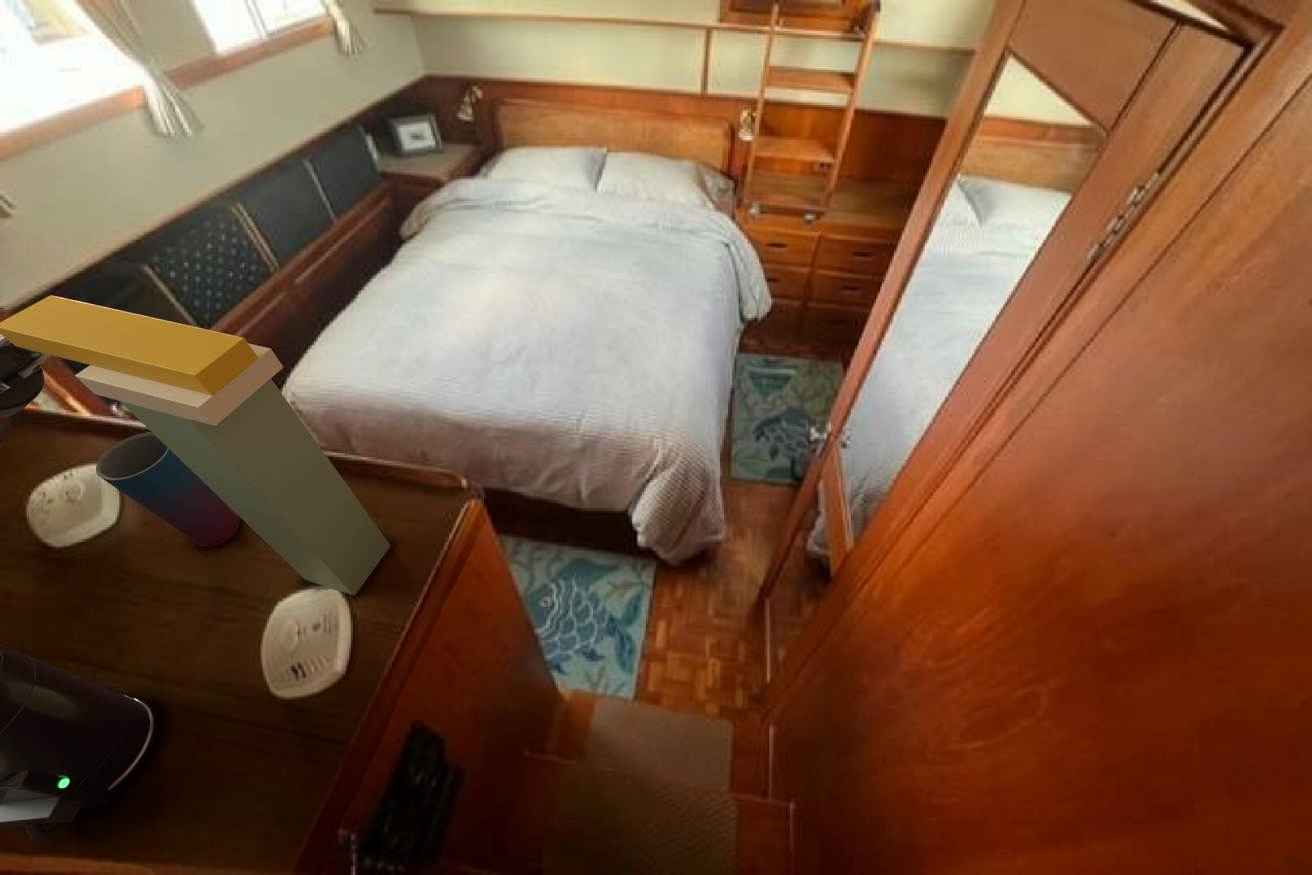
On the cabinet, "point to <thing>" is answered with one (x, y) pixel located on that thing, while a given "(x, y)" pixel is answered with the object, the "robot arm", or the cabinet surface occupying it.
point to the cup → (167, 489)
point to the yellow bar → (130, 343)
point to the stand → (259, 466)
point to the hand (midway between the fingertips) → (11, 347)
